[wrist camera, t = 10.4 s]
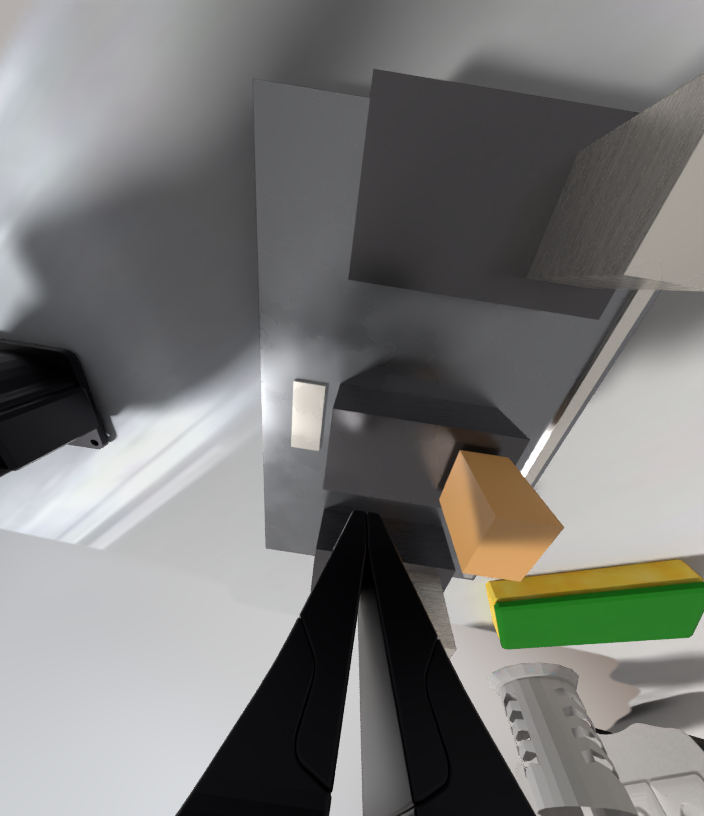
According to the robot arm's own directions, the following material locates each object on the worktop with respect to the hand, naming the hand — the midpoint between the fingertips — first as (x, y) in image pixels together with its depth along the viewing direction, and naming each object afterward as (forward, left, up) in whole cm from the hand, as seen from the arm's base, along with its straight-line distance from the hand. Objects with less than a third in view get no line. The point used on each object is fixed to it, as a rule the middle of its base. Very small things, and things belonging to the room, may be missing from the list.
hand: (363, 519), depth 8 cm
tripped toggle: (+5, 0, -3) cm, 5 cm away
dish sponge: (+20, -14, -8) cm, 26 cm away
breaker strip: (+2, 0, -7) cm, 7 cm away
